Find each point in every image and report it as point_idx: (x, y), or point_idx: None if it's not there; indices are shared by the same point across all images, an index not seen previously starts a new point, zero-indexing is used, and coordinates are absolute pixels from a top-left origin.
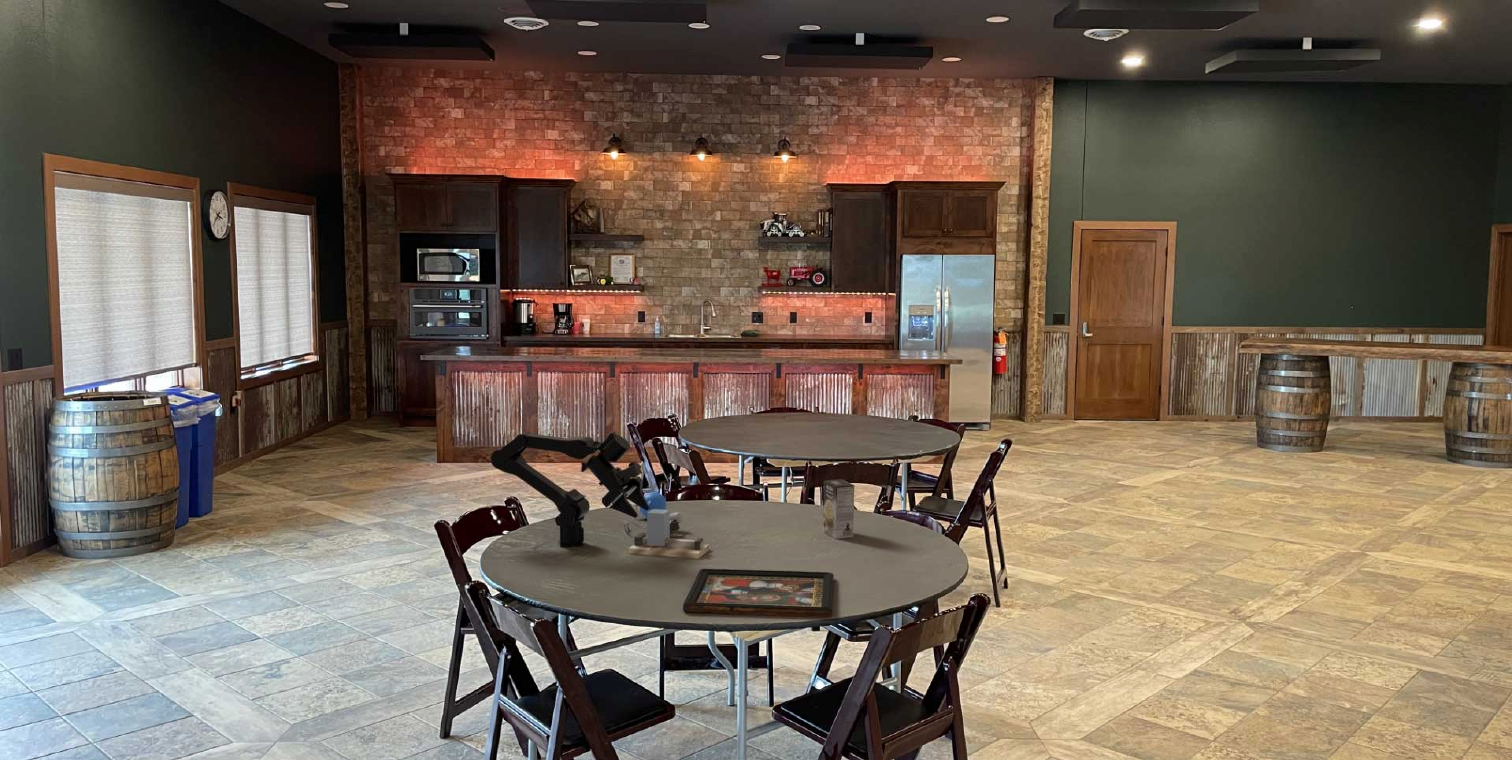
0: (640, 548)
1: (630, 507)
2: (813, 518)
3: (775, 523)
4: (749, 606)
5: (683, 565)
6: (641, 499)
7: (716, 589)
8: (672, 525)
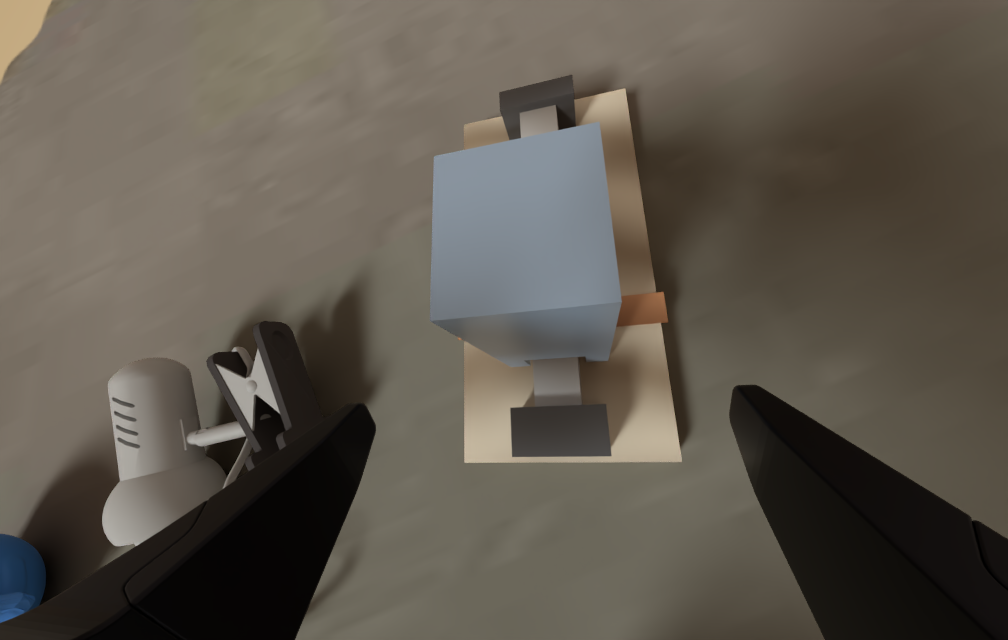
0: (657, 386)
1: (939, 503)
2: (89, 68)
3: (131, 123)
4: None
5: (761, 108)
6: (262, 530)
7: None
8: (275, 353)
